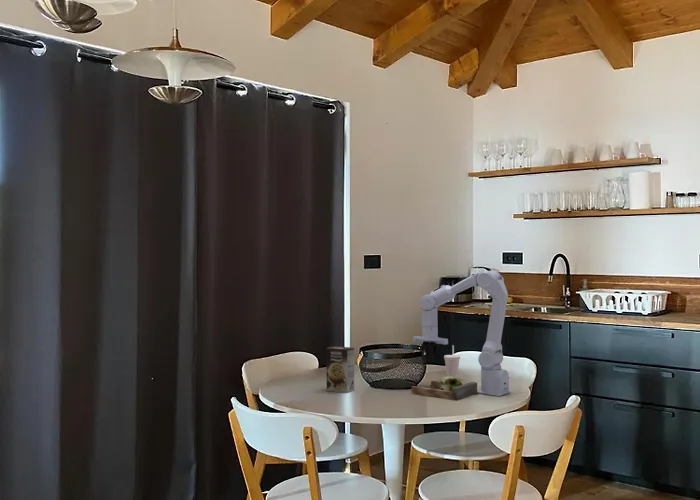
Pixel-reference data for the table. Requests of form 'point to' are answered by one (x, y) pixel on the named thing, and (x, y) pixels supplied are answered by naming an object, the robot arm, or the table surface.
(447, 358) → the smoothie
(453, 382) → the fruit
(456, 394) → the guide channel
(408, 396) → the table surface
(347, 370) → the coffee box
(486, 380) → the robot arm
